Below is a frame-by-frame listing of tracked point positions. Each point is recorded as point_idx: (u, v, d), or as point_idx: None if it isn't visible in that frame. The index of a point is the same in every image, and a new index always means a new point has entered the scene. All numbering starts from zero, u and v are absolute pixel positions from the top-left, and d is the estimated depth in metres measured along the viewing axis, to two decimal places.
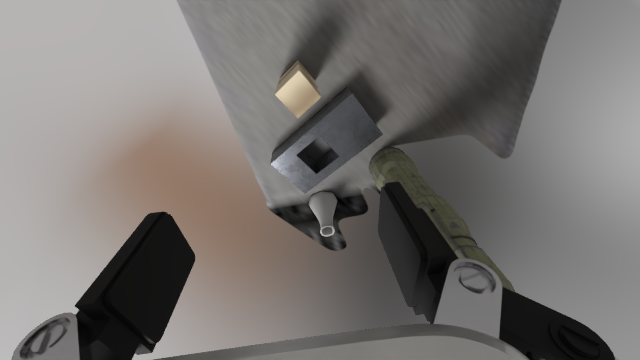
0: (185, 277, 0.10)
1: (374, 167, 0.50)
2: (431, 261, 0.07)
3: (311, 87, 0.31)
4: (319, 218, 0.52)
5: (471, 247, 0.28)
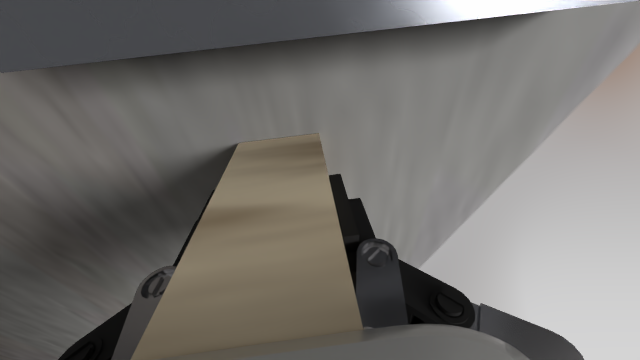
0: None
1: None
2: (344, 241, 0.07)
3: None
4: None
5: None
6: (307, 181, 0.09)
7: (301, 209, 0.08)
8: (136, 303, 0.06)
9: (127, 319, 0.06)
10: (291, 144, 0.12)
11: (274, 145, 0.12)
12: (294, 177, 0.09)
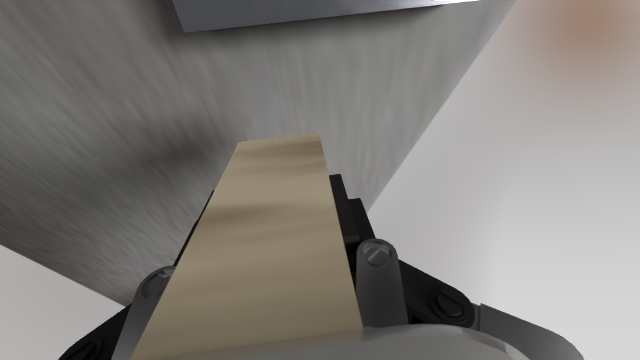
0: None
1: None
2: (344, 241, 0.07)
3: None
4: None
5: None
6: (306, 180, 0.09)
7: (301, 208, 0.08)
8: (136, 303, 0.06)
9: (126, 319, 0.06)
10: (291, 143, 0.12)
11: (274, 144, 0.12)
12: (294, 176, 0.09)
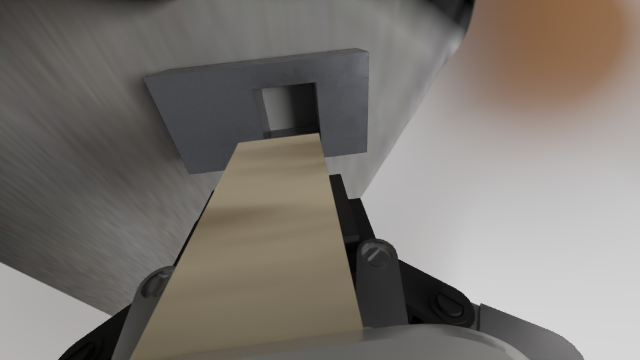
0: None
1: None
2: (344, 241, 0.07)
3: None
4: None
5: None
6: (307, 181, 0.09)
7: (301, 209, 0.08)
8: (136, 303, 0.06)
9: (126, 319, 0.06)
10: (291, 144, 0.12)
11: (274, 145, 0.12)
12: (294, 177, 0.09)
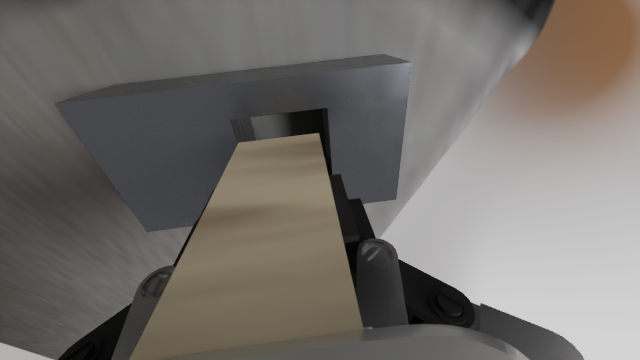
0: None
1: None
2: (344, 241, 0.07)
3: None
4: None
5: None
6: (307, 181, 0.09)
7: (301, 208, 0.08)
8: (136, 303, 0.06)
9: (126, 319, 0.06)
10: (291, 143, 0.12)
11: (274, 145, 0.12)
12: (293, 176, 0.09)
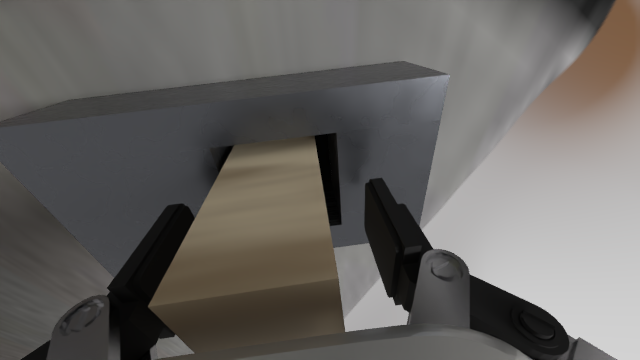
0: None
1: None
2: (405, 252, 0.07)
3: (189, 340, 0.06)
4: None
5: None
6: (298, 149, 0.11)
7: (293, 166, 0.10)
8: (55, 344, 0.06)
9: None
10: None
11: None
12: (289, 147, 0.12)
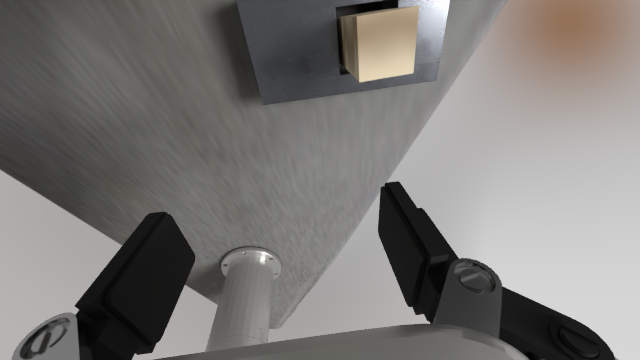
0: (185, 277, 0.10)
1: None
2: (431, 261, 0.07)
3: (360, 45, 0.18)
4: None
5: None
6: (377, 10, 0.22)
7: (380, 10, 0.21)
8: None
9: None
10: None
11: None
12: (371, 11, 0.23)
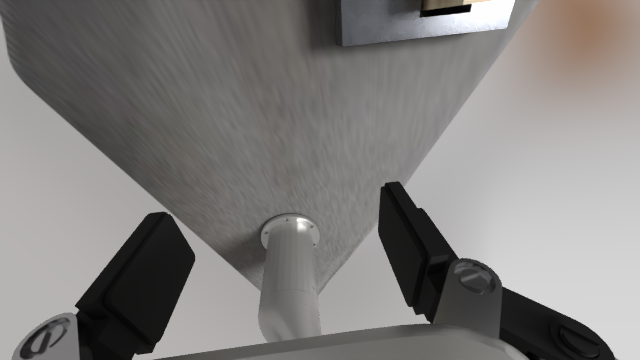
0: (185, 277, 0.10)
1: None
2: (431, 261, 0.07)
3: None
4: None
5: None
6: None
7: None
8: None
9: None
10: None
11: None
12: None
